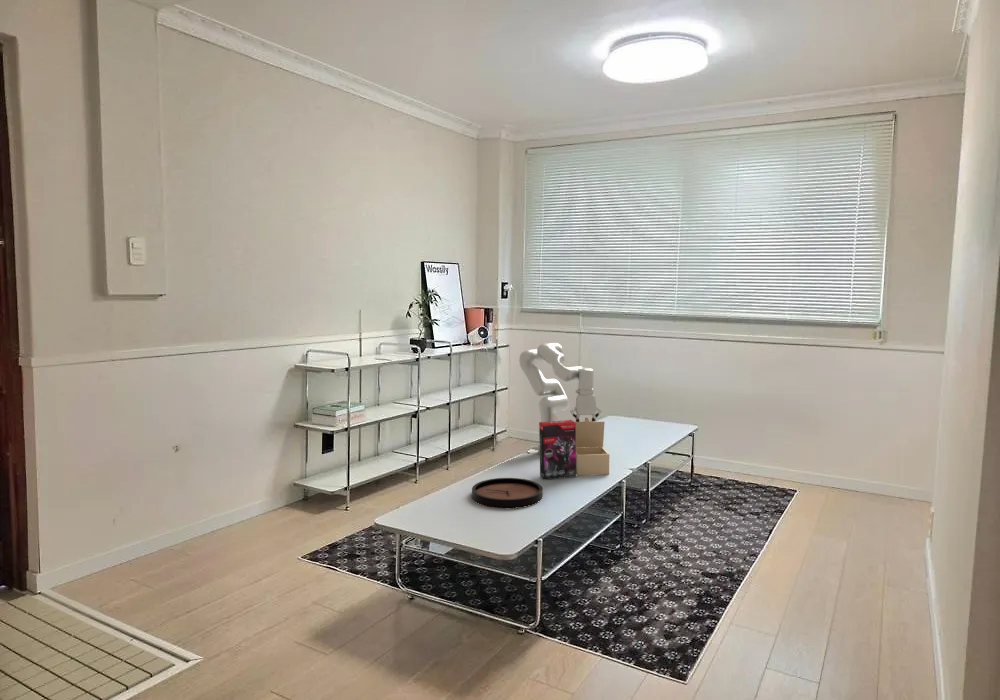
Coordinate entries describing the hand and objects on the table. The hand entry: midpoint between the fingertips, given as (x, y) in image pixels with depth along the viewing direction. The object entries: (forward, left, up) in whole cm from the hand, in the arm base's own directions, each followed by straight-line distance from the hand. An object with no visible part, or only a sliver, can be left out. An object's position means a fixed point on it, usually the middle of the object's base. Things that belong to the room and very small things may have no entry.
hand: (585, 426), depth 348 cm
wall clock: (-45, -46, -21) cm, 68 cm away
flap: (0, -6, -3) cm, 6 cm away
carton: (0, -11, -20) cm, 23 cm away
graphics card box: (-18, -20, -20) cm, 34 cm away
